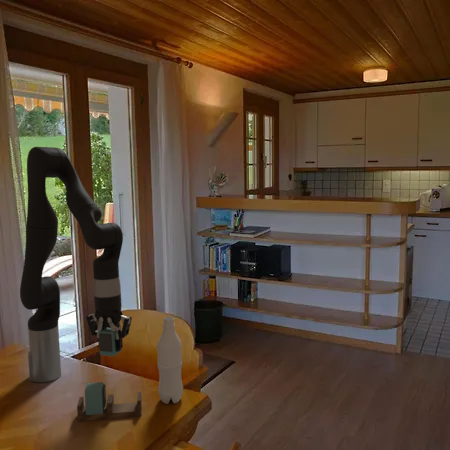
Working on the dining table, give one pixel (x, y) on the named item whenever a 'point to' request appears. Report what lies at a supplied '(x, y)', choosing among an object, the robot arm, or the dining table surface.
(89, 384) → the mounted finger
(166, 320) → the water bottle
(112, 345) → the teal block
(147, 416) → the dining table surface
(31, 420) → the dining table surface
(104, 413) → the rail
